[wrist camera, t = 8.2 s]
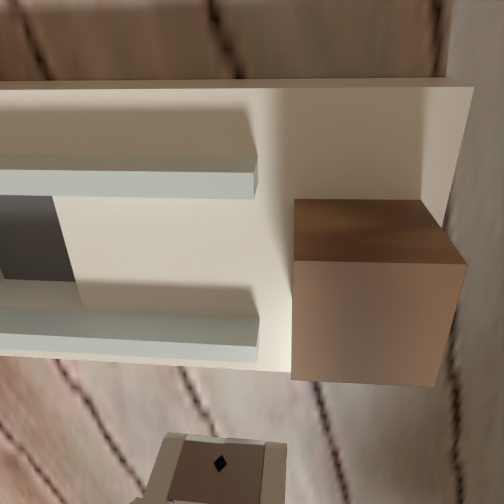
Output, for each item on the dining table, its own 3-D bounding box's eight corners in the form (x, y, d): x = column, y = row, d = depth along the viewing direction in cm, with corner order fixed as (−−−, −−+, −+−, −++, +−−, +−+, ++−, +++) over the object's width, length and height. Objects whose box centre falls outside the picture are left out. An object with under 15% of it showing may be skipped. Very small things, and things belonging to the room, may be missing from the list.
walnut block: (420, 199, 16) (467, 264, 12) (401, 302, 18) (434, 387, 14) (294, 198, 16) (293, 260, 12) (291, 298, 19) (290, 379, 14)
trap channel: (446, 77, 16) (500, 95, 12) (393, 339, 23) (415, 411, 19) (-112, 82, 19) (-235, 98, 14) (-10, 319, 26) (-73, 379, 21)
